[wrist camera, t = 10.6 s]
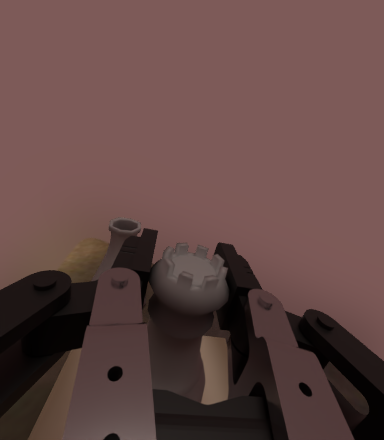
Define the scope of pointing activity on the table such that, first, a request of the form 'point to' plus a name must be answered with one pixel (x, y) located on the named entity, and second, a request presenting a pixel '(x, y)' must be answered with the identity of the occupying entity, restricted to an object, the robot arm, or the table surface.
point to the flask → (117, 242)
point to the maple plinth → (62, 391)
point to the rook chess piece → (183, 317)
